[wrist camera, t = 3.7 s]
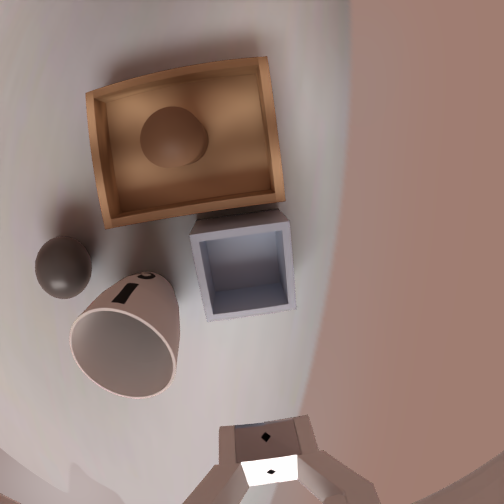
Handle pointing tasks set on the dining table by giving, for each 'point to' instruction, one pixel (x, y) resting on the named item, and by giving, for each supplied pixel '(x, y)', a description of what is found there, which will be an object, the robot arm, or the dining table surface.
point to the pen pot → (244, 264)
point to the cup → (130, 337)
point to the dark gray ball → (63, 267)
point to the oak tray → (213, 161)
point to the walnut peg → (173, 138)
